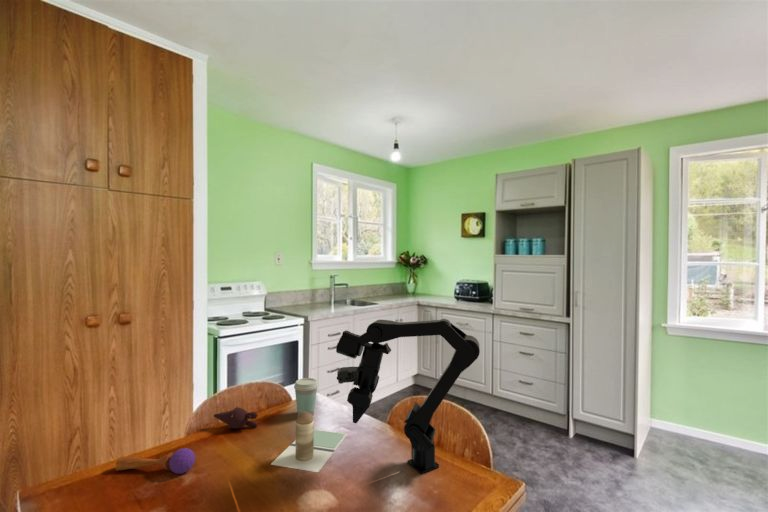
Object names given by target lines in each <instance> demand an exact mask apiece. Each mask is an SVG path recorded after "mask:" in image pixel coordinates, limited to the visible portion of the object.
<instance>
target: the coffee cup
mask: <svg viewBox="0 0 768 512" xmlns="http://www.w3.org/2000/svg"><path fill="white" fill-rule="evenodd" d="M318 387H319V384H318V381H317V379H315V378H311V377H303V378H299V379H297V380H296V381H295V383H294V387H293V388H294V391H295V392H294V394H295V400H296V401H295V404H296V413H297V416H298V415H299V414H300V413H302V412H304V411H307V412H309V413H311V414H312V416H313V417H314V415H315V409H316V399H317V393H318Z"/></svg>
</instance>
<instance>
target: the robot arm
mask: <svg viewBox="0 0 768 512" xmlns="http://www.w3.org/2000/svg"><path fill="white" fill-rule="evenodd" d="M427 336H429V337H430V336H432V337H433V336H441V337H442V338H444V340H445V341H446V342H447V344H449V346H451V347H452V348H453V350H454V352H453V354H452V357H451V360H450V362H449V364H447V366H446V368H445V369H444V371H443V373H442V374H441V375H440V377H439V378H438V380H437V381H436V383H435V384H434V385H433V387H432V389H431V390H430V392H429V393H428V395H427V396H426V398H425V399H424V400H423V401H422V402H421V403H420V404H418V403H417V402H416V401H415V402H414V404H413V406H412V408H411V410H409V411H408V412H407V415H406V417H405V419H404V421H403V423H405V424H404V428H403V432H404V435H405V436H406V438H408V440H409V442H410V443H409V444H410V446H411V451H410V452H411V456H410V457H411V458H410V459H408V460H407V461H406V463H407V464H409V465H410V467H412V468H413V469H414V470H416V471H417V472H418V473H419V474H424V473H427V472H429V471H431V470H434V469H437V468H440V464H439V463H438V462H436V445H435V444H434V443H435V441H434V438H435V434H436V429H435V427H434V426H433V425H432V424H431V421H432V418H433V416H434V414H435V412H437V409H438V408H439V406H440V405H441V403H442V401H444V399H445V398H446V396H447V395H448V393H449V392H450V390H451V388H452V387H453V386H454V385H455V383H456V381H457V379H458V378H459V377H460V375H461V374H462V373H463V372H464V371H465V370H466V369H468V368H469V367H470V366H471V365H472V364H473V363H475V362H476V360H478V357H479V356H480V342H479V340H478V339H477V337H475V336H472V335H470V334H467V333H465V332H464V331H462V330H461V329H460V328H458V327H457V326H456V325H454V324H453V323H452V322H451V321H450V320H449V319H447V318H441V319H433V320H418V321H417V320H416V321H406V322H403V321H402V322H401V321H399V322H398V321H394V320H388V319H377V320H375V321H373V322H372V323H370V324H368V326H367V328H366V332H363V333H362V334H356V333H353V332H351V331H349V330H343V331H342V335H341V336H340V338H339V339H338V342H337V344H336V350H335V351H336V353H337V354H339V355H343V356H346V357H348V358H351V359H357V358H358V357H361V359H360V362H359V365H358V366H343V367H340V368H339V369H338V370H337V372H336V373H337V375H336V380H337V382H338V384H341V385H342V384H344V383H352V385H354V387H353V388H351V389H350V391H349V392H348V394H347V395H348V396H347V400H346V402H348V403H349V404H350V405H351V406H352V423H354V424H358V422H359V421H360V420H361V418H362V417H363V415H364V414H365V413H366V412H367V410H368V409H369V408H370V406H371V403H372V400H373V397H374V396H373V394H374V392H375V391H376V389H377V386H378V384H379V381H380V376H379V372H380V370H381V364H382V361H383V357H384V354H386V355H389V354H390V353H391V351H392V348H391V347H390V345H389V343H388V342H389V341H392V340H395V339H399V338H410V337H411V338H414V337H427ZM384 342H386V343H384ZM382 343H384V344H382ZM355 386H357V387H355Z"/></svg>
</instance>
